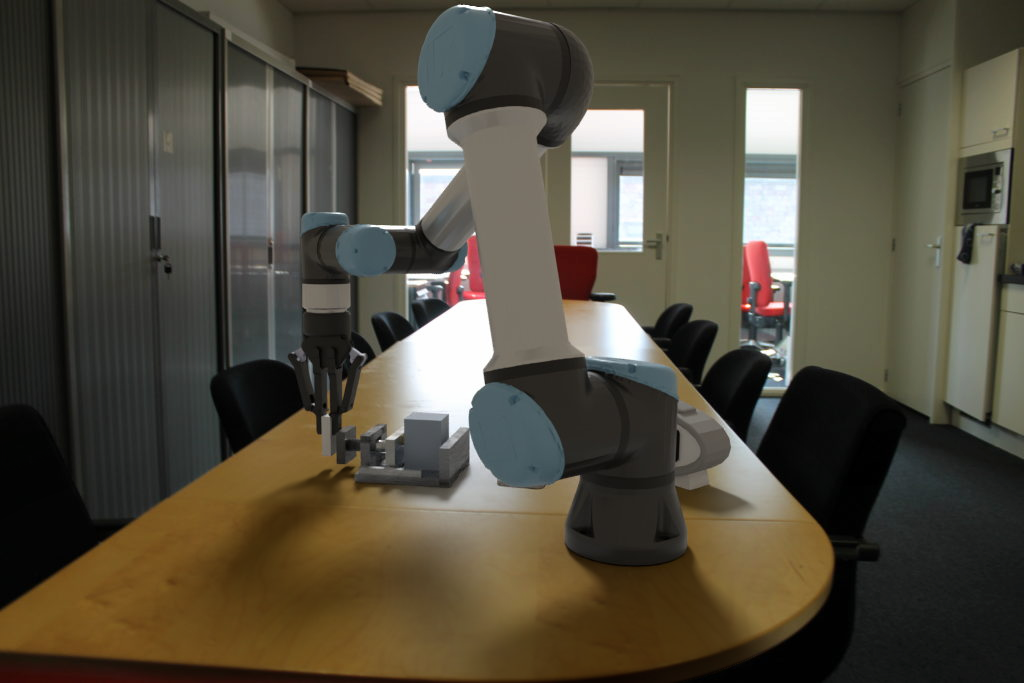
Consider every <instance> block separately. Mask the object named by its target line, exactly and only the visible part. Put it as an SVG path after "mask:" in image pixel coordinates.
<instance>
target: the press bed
mask: <svg viewBox="0 0 1024 683" xmlns="http://www.w3.org/2000/svg"><path fill="white" fill-rule="evenodd" d="M387 425H388V424H387V423H377V424H375V425H374V426H372V427H370V429H368V430H366V431H365V432H363V433H362V434H360V436H359V439H360V465H359V466H358V468H357V470H358V471H357V472H355V473H354V482H355V483H369V484H370V483H371V484H385V485H386V484H389V485H403V486H405V485H407V486H419V487H420V486H421V487H437V488H451V486H452V485H453V483H455V481H456V480H457V479H458V478H459V476H460V475H461V474H462V472H463V471H464V470H465V469H466V468H467V467H468V465H469V464H470V458H471V457H470V455H471V453H470V450H471V449H470V447H471V446H470V445H471V444H470V443H471V442H470V441H471V440H470V438H471V435H470V430H469V427H464V426H463V427H462V426H461V427H459V428H458V429H457V430H456V431H455V432H454V433H453V434H452V435H451V436H449V439H448V440H447V441H446V442H445V443H444V444H443V445H442V446H441V447H440V448H439V470H423V469H409V468H404V463H403V464H402V465H401V466H400V467H399V468H392V467H385V453H378V452H376V448H375V440H385V439H386V438H388V426H387Z"/></svg>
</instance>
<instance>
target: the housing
mask: <svg viewBox="0 0 1024 683" xmlns="http://www.w3.org/2000/svg"><path fill="white" fill-rule="evenodd" d="M403 426H404V436H403V445H404V468H409V469H423V470H439V448H440V447H441V446H442V445H443V444H444V443H445V442H446V441H447V440H448V439H449V438H450V414H449V413H438V412H434V413H433V412H418V411H417V412H414V411H413V412H411V413H410V414H409V415H407V416H406V417H404V418H403Z"/></svg>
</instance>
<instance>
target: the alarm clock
mask: <svg viewBox="0 0 1024 683" xmlns="http://www.w3.org/2000/svg"><path fill="white" fill-rule="evenodd" d="M731 450H732V444H731V439H730V437H729V434H728V433H727V431H726V430H725V429H724V427H723V426H722V425H721V424H720V423H719V422H718V421H717V420H716V419H714V418H713V417H712V416H711V415H709V414H707V413H706V412H704V411H703V410H701V409H698V408H696V407H695V406H694V405H692V404H689V403H688V402H686V401H684V400H682V399H679V402H678V414H677V437H676V460H675V487H679V488H682V489H685V490H689V491H692V490H695V489H698V488H702V487H705V486H708V485H710V478H709V473H708V471H707V470H708V469H712V468H715V467H717V466H719V465H721V464H723V463H724V461H726V460H727V458H729V457H730V453H731Z"/></svg>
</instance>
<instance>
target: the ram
mask: <svg viewBox="0 0 1024 683" xmlns="http://www.w3.org/2000/svg"><path fill="white" fill-rule="evenodd" d="M403 436H404V425H403V426H401V427H400V428H398V429H397V430H396V431H394V432H393V433H392V434H390V435H389V436H387V438H386V439H385V440H375V448H376V452H378V453H385V467H392V468H399V467H400V466H401V465H402V464H403V463H404V445H403ZM357 452H360V438H357V425H349V424H347V425H346V426H344V427H342V429H340V430H339V431H337V432H336V453H335V454H336V461H335V462H336V465H347V464H348V463H350V462H351V461H353V460H354V459H355V458H356V457H357Z"/></svg>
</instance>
